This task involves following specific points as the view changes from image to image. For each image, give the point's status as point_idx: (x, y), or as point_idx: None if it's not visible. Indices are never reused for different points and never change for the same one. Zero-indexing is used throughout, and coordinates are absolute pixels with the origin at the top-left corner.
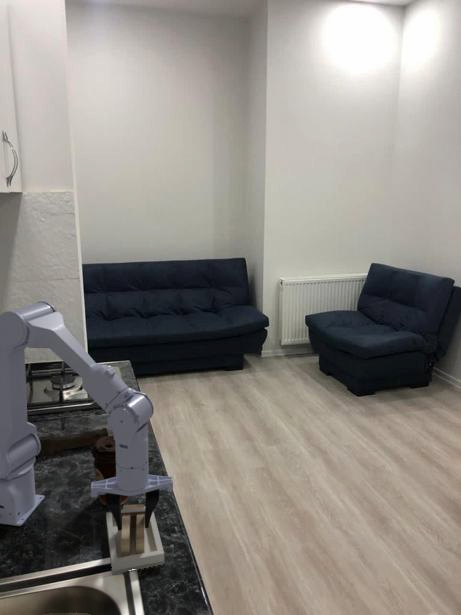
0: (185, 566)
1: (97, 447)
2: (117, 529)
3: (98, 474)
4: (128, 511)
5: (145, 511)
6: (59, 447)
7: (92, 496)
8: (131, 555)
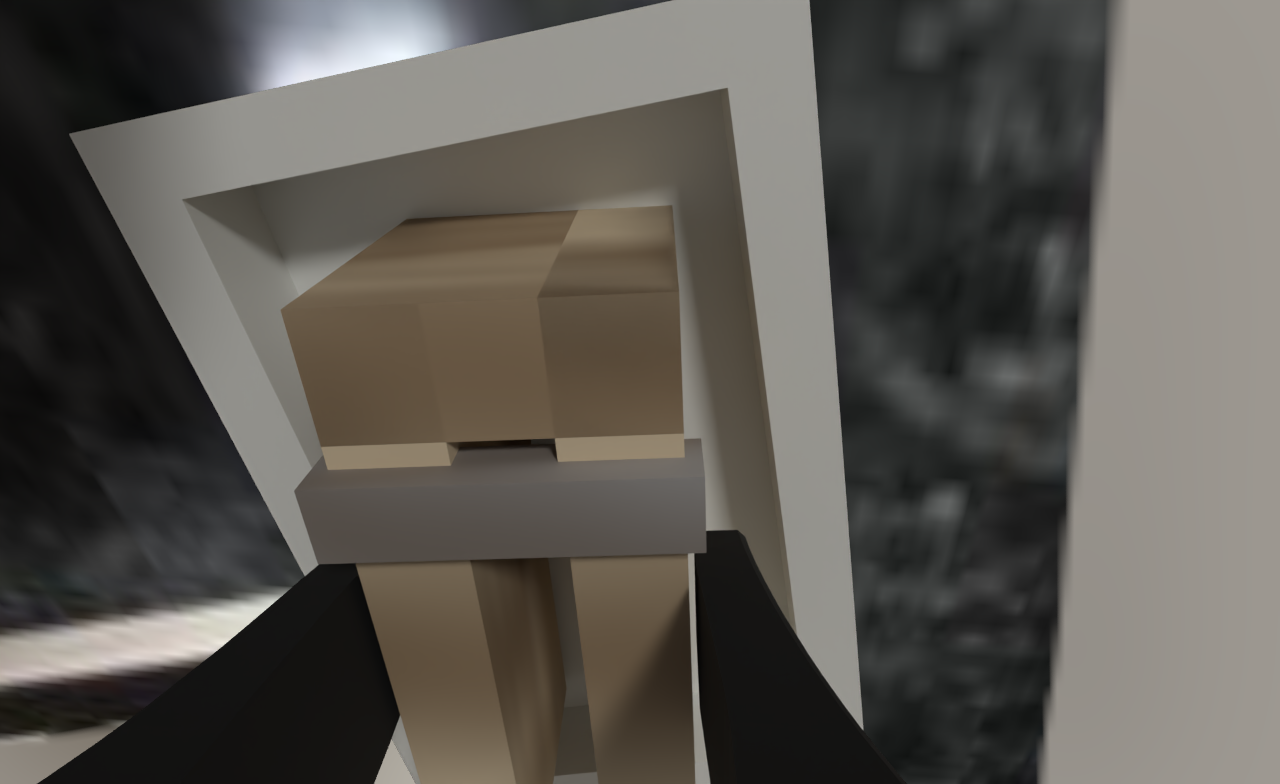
0: (999, 699)
1: None
2: None
3: None
4: (423, 535)
5: (717, 739)
6: None
7: None
8: (580, 776)
